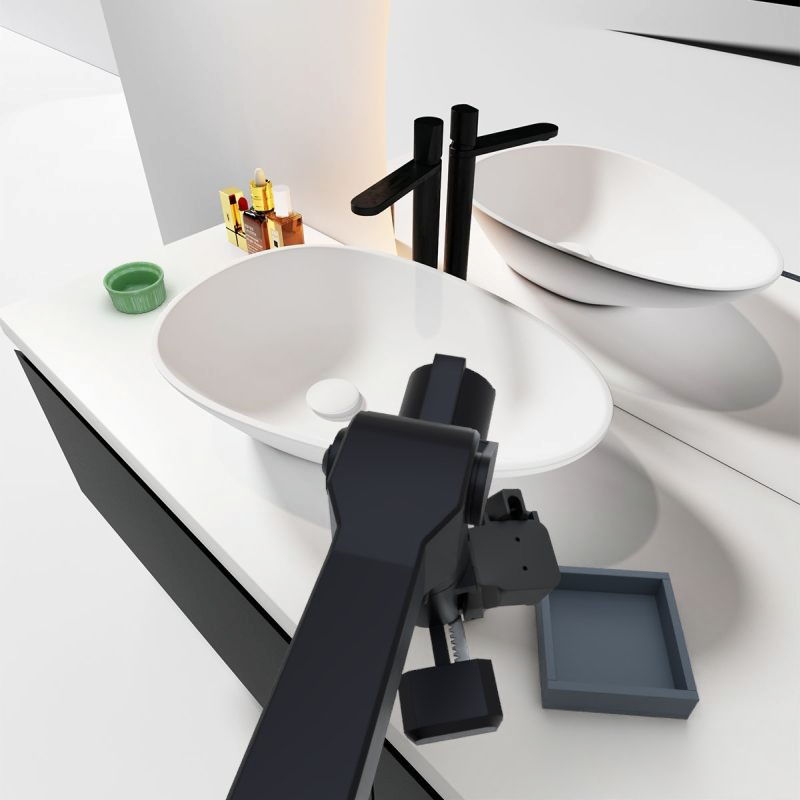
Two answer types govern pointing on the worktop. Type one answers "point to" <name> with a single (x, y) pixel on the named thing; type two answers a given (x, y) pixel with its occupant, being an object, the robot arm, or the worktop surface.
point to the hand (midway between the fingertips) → (437, 625)
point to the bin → (614, 645)
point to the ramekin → (136, 286)
